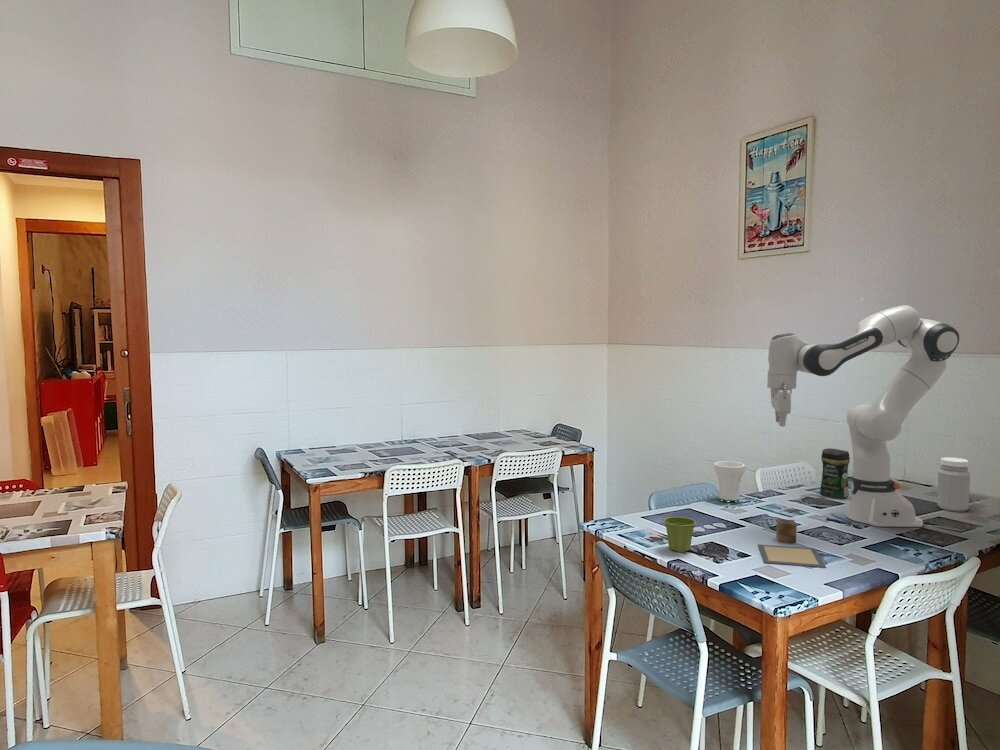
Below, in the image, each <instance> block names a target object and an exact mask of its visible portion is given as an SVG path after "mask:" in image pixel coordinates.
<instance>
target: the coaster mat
mask: <svg viewBox="0 0 1000 750" xmlns="http://www.w3.org/2000/svg"><path fill="white" fill-rule="evenodd" d="M757 547H758V550H759V553H760V555H761V558H762V561H763V564H769V565H770V564H771V565H783V566H794V567H795V566H797V567H808V568H809V567H811V568H821V569H822V568H823V569H824V568H825V569H826V568H827V566H826V564H825V563H824V561H823V559H822V558H821V556H820V554H819V553H818V551H817V550H816V548H814V547H802V546H801V547H799V546H788V545H772V544H759V543H758V544H757Z"/></svg>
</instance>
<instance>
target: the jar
mask: <svg viewBox="0 0 1000 750" xmlns="http://www.w3.org/2000/svg"><path fill="white" fill-rule="evenodd" d="M968 466H969V460H968V459H965V458H960V457H949V456H947V457H946V456H945V457H941V458H940V468H939V469H938V471H937V496H936V500H937V501H936V505H937V506H938V508H939V509H942V510H945V511H949V512H959V513H960V512H961V513H962V512H966V511H968V510H969V508H970V486H971V485H970V482H971V472H969V467H968Z"/></svg>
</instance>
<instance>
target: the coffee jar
mask: <svg viewBox="0 0 1000 750" xmlns="http://www.w3.org/2000/svg"><path fill="white" fill-rule="evenodd" d="M820 459H821V463H822V474H821V483H820V492H819V493H820V494H821V495H822V496H825V497H827V498H833V499H843V498H844V499H846V498H848V497H849V494H850V493H849V491H850V490H849V473H848V472H849V471H848V470H849V464H850V461H851V459H850V453H849V451H847V450H843V449H837V448H832V447H831V448H830V447H828V448H824V449H822V452H821V458H820Z"/></svg>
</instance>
